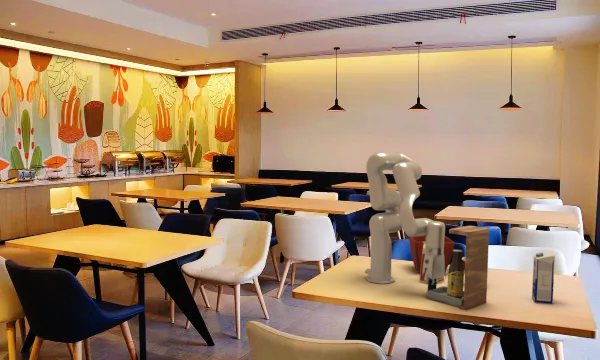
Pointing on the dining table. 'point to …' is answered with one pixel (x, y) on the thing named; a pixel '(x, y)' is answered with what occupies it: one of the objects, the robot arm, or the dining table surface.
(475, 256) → the wooden c-shaped stand
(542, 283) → the milk carton
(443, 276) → the milk carton
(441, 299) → the tray
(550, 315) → the dining table surface
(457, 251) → the sauce bottle
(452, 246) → the plant pot
